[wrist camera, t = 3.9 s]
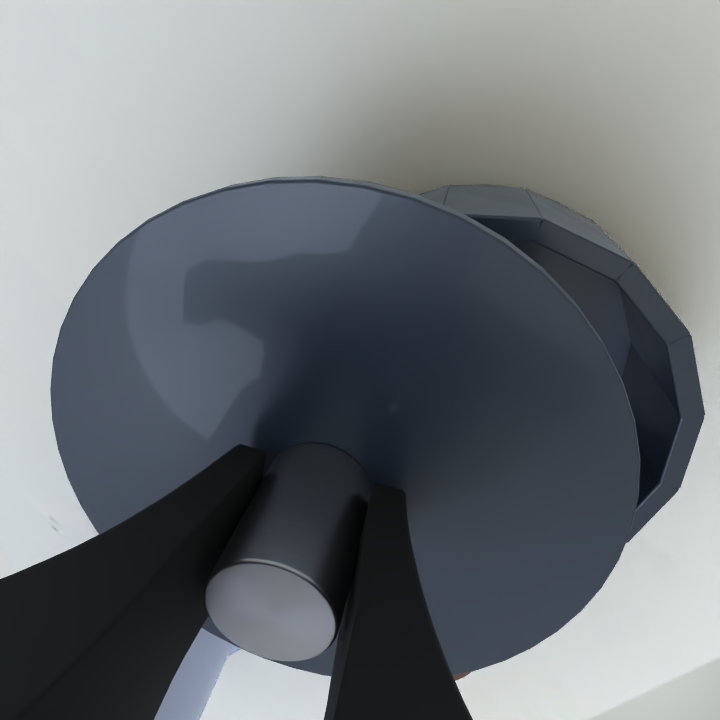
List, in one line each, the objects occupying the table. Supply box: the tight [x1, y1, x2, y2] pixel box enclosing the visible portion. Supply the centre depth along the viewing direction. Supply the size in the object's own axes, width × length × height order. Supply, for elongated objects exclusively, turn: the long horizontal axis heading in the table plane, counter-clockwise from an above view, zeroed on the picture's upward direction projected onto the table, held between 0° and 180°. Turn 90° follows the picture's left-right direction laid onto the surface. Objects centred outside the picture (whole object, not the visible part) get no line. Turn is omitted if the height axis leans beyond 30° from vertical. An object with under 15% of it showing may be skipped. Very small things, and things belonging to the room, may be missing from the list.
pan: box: [420, 185, 705, 544], centre depth 18 cm, size 12×12×5 cm
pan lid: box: [50, 176, 640, 676], centre depth 11 cm, size 13×13×4 cm
